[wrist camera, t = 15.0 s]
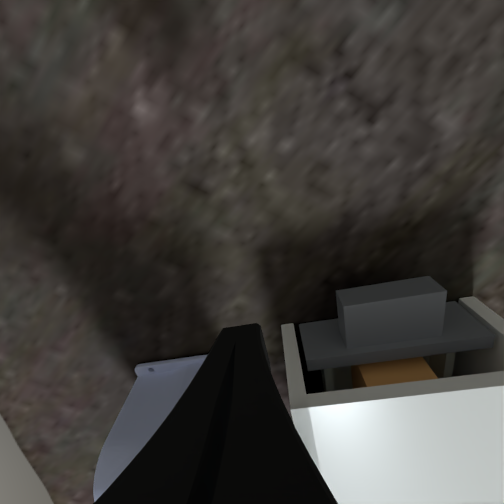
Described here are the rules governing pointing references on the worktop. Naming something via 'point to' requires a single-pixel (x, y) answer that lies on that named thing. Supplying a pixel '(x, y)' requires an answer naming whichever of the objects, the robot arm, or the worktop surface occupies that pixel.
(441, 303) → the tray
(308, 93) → the worktop surface
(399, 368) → the tan rectangular block
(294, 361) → the white drawer box
